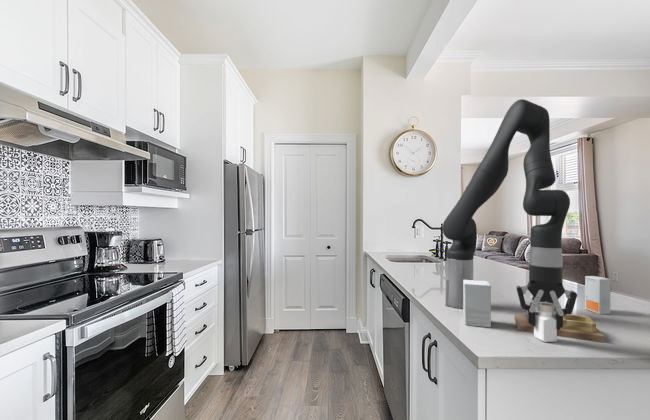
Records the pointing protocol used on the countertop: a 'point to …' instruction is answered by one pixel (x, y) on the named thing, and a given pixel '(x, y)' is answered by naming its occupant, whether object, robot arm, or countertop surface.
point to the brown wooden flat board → (566, 327)
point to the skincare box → (597, 294)
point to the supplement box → (477, 303)
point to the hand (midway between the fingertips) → (545, 327)
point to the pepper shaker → (545, 324)
